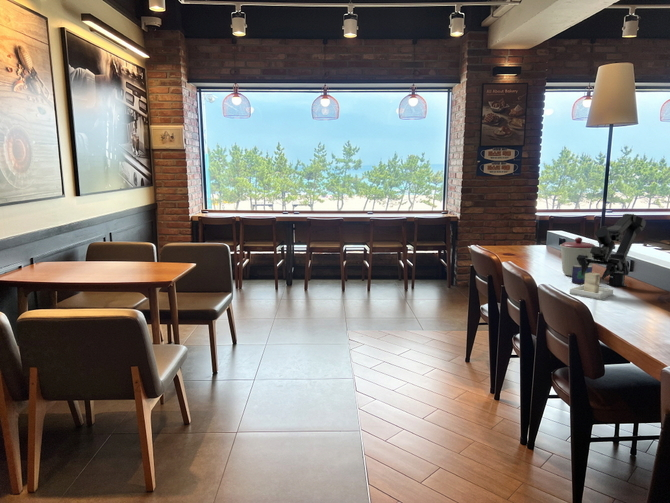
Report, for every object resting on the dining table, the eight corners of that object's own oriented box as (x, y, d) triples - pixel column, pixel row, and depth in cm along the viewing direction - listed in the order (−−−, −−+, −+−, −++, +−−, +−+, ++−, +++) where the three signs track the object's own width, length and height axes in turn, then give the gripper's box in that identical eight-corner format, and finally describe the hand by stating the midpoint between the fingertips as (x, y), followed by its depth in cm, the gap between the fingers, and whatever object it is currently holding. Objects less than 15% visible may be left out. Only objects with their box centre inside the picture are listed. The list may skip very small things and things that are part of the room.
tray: (583, 289, 229) (583, 284, 228) (612, 294, 218) (613, 289, 218) (569, 293, 221) (570, 288, 220) (599, 299, 210) (599, 294, 210)
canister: (595, 273, 263) (598, 236, 259) (594, 280, 247) (597, 240, 244) (559, 270, 272) (562, 234, 268) (556, 276, 257) (558, 238, 253)
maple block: (588, 290, 223) (589, 272, 221) (598, 292, 219) (600, 273, 217) (583, 292, 220) (585, 273, 218) (593, 294, 216) (595, 275, 215)
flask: (590, 282, 242) (591, 262, 240) (592, 284, 239) (593, 263, 237) (570, 282, 244) (572, 262, 242) (572, 283, 241) (573, 263, 239)
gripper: (579, 237, 226) (566, 263, 221) (621, 242, 211) (608, 269, 206) (586, 252, 232) (573, 277, 227) (627, 257, 217) (615, 284, 212)
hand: (592, 276), depth 218 cm, fingers open, 9 cm apart
